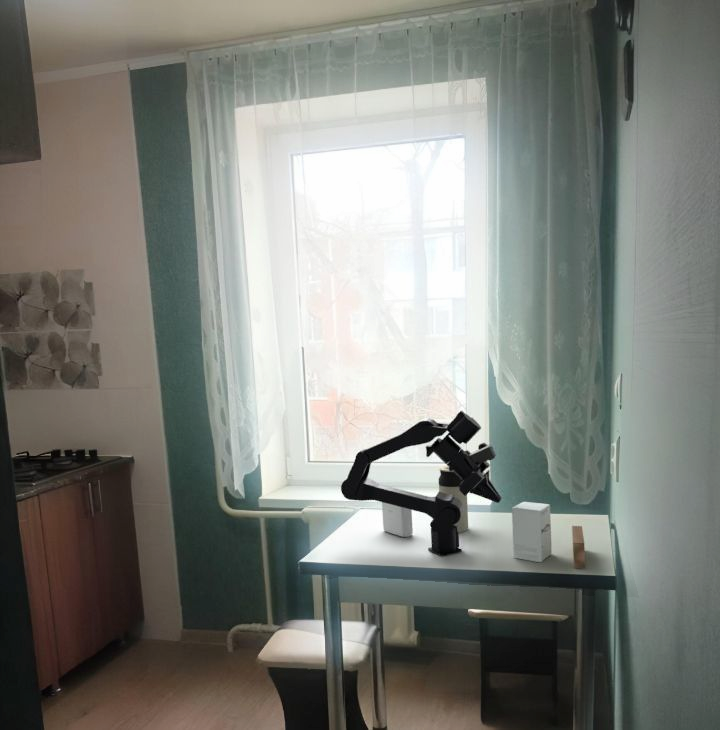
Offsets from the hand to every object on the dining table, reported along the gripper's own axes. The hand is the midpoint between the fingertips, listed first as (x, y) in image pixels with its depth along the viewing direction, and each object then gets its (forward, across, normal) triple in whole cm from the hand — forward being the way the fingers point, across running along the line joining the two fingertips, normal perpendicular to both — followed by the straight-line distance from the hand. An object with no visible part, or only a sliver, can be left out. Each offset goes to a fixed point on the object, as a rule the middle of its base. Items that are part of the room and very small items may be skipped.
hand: (499, 500), depth 156 cm
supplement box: (+15, 0, +4) cm, 16 cm away
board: (+22, 0, -3) cm, 23 cm away
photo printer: (-12, +14, +31) cm, 36 cm away
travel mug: (-1, +20, +20) cm, 28 cm away
